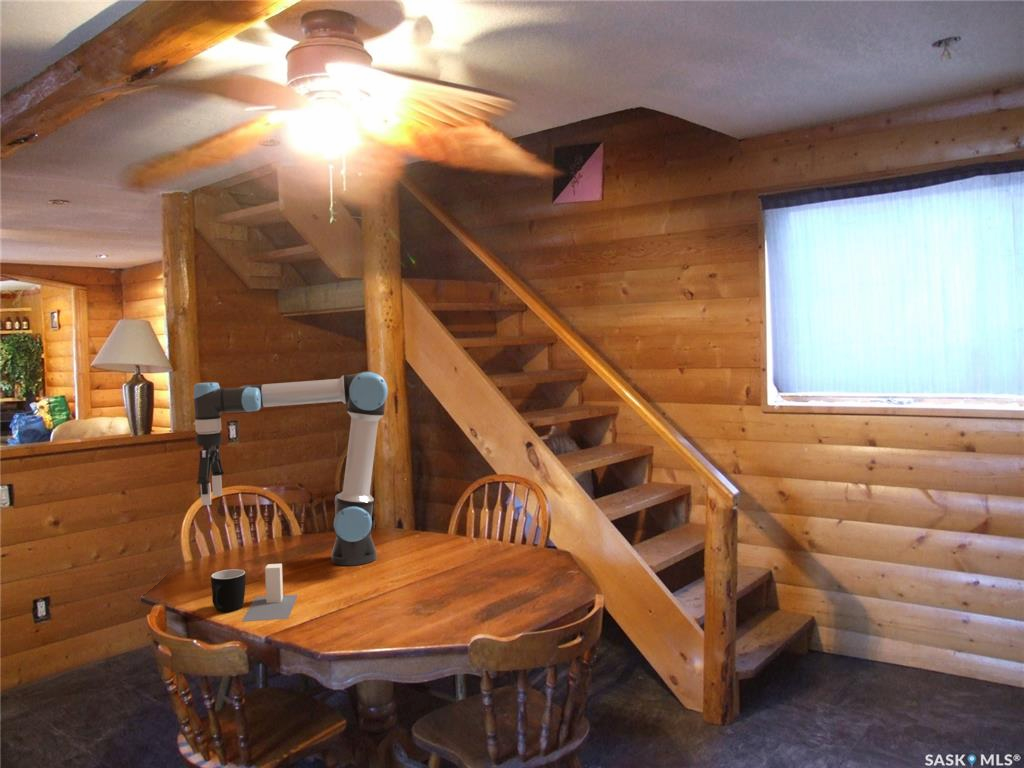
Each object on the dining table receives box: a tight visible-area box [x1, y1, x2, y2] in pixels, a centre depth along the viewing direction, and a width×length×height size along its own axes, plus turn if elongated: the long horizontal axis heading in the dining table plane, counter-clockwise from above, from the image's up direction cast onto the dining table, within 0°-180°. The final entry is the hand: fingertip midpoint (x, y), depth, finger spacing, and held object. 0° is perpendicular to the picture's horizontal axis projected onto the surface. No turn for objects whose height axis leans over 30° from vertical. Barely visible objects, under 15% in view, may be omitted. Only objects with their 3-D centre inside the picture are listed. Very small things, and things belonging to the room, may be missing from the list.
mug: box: [210, 568, 246, 613], centre depth 214 cm, size 12×9×10 cm
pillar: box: [264, 563, 284, 603], centre depth 222 cm, size 4×4×10 cm
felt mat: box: [241, 594, 299, 623], centre depth 216 cm, size 12×20×1 cm, turn 8°
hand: (212, 500), depth 242 cm, fingers open, 13 cm apart
